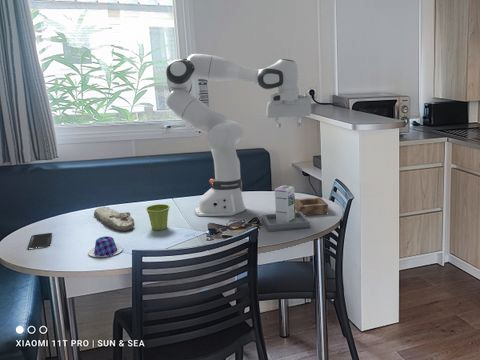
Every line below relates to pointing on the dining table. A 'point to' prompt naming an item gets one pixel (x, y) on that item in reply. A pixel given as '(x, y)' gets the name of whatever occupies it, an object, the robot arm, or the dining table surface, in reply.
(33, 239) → the phone
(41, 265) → the dining table surface
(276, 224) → the tray
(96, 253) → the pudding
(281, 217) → the syrup box
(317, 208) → the socket block
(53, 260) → the dining table surface
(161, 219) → the plant pot
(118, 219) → the beige slipper
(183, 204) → the dining table surface
